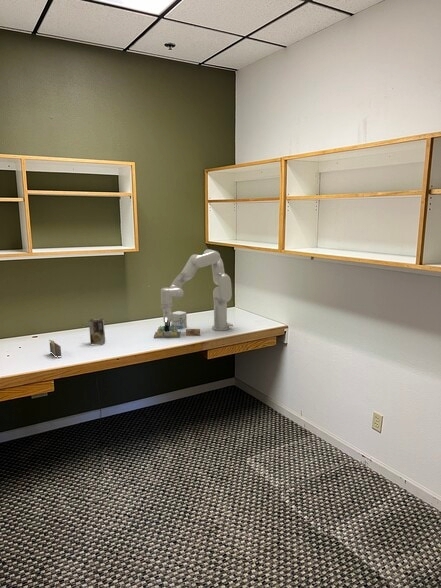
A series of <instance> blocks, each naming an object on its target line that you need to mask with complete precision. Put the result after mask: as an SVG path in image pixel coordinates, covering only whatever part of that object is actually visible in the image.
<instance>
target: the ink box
mask: <svg viewBox="0 0 441 588" xmlns="http://www.w3.org/2000/svg"><path fill="white" fill-rule="evenodd" d="M187 320H188V319H187V312H186V311H181V310H178V311H177V310H176V311H173V312H171V322H170V326H173V327H174V325H175V327H176V328H178V330H181V329H182V330H183V329H185V328H186V329H187V328H188V327H187V326H188V323H187V322H188V321H187Z"/></svg>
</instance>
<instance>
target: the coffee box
mask: <svg viewBox="0 0 441 588" xmlns="http://www.w3.org/2000/svg"><path fill="white" fill-rule="evenodd" d="M88 326H89V339H90V345H91V344H100V345H105V344H106V332H105V320H104V318H93V319H90V318H89V321H88Z"/></svg>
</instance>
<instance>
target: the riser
mask: <svg viewBox="0 0 441 588" xmlns="http://www.w3.org/2000/svg"><path fill="white" fill-rule="evenodd" d="M185 336H186V337H191V336H192V337H201V328H186V329H185Z"/></svg>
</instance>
